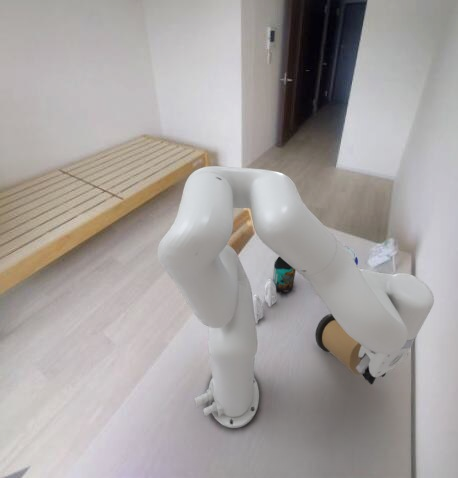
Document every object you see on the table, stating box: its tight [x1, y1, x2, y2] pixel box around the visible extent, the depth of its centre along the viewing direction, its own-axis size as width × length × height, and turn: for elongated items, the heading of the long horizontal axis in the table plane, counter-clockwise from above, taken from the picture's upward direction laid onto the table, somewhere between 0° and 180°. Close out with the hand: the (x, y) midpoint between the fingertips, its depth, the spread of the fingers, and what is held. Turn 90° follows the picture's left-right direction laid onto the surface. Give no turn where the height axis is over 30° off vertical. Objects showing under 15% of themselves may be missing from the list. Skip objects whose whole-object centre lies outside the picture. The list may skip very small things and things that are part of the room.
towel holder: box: [315, 313, 382, 378], centre depth 68 cm, size 10×16×10 cm, turn 24°
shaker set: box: [252, 278, 278, 324], centre depth 85 cm, size 12×4×11 cm, turn 134°
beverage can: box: [272, 256, 296, 295], centre depth 91 cm, size 7×7×12 cm
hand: (372, 373), depth 63 cm, fingers closed on towel holder, 2 cm apart
